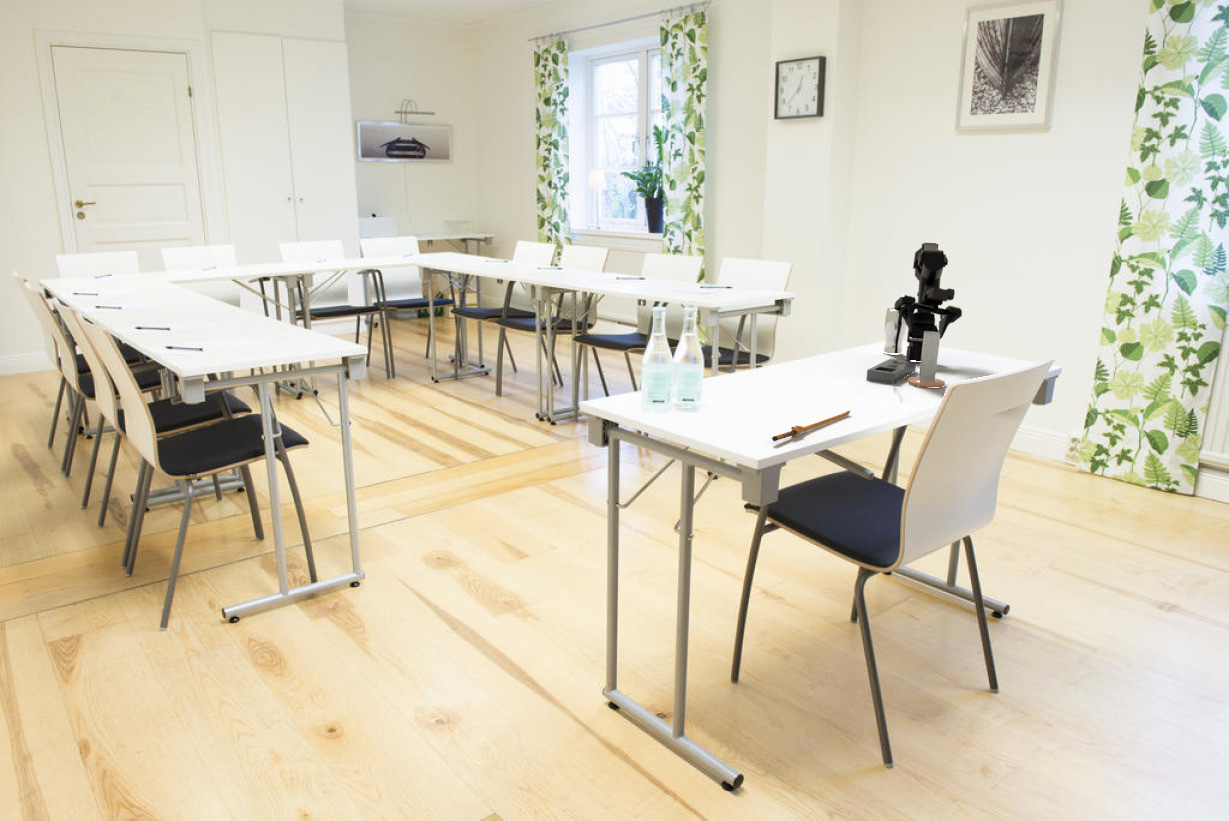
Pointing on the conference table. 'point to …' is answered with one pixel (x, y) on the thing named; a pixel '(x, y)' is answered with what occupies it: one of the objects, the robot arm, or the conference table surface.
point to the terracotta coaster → (916, 382)
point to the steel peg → (929, 356)
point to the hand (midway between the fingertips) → (926, 334)
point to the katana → (808, 427)
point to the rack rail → (891, 371)
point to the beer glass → (894, 331)
